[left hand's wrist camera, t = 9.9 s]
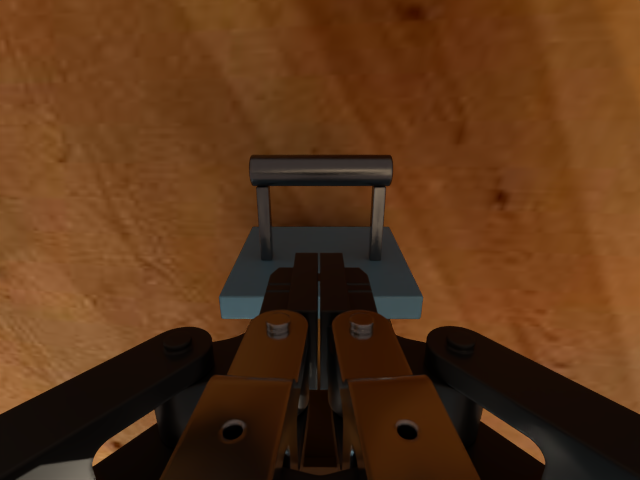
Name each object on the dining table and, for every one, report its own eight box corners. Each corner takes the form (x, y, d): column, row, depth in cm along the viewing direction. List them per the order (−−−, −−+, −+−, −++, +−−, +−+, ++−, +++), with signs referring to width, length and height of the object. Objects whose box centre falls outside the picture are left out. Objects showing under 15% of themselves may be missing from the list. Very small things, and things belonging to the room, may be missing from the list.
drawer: (246, 141, 22) (203, 172, 14) (395, 141, 22) (439, 172, 14) (268, 449, 32) (251, 572, 24) (372, 450, 32) (389, 572, 24)
